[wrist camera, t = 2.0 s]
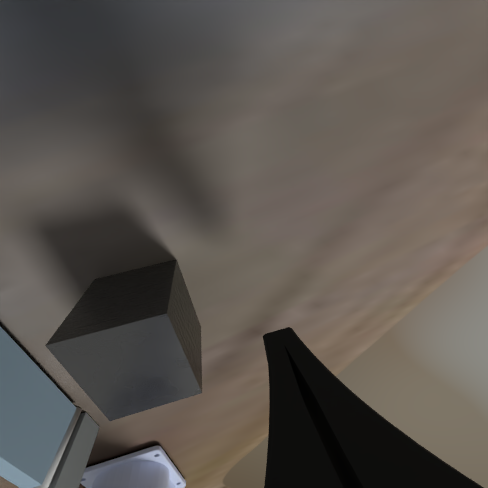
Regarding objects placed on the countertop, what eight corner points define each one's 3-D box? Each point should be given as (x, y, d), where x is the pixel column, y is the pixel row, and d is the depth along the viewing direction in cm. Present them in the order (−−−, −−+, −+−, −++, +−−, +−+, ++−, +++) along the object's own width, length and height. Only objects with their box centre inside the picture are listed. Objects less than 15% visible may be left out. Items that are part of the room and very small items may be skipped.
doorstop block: (200, 325, 17) (201, 392, 12) (134, 344, 16) (109, 420, 12) (176, 258, 14) (166, 313, 9) (95, 278, 13) (45, 345, 9)
